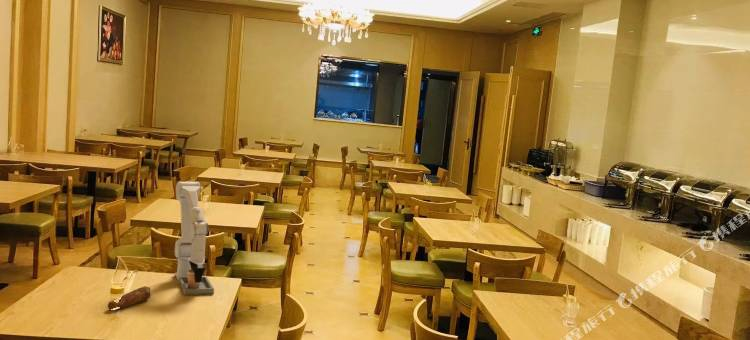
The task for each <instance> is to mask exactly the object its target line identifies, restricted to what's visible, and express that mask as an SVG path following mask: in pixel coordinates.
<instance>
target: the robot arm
mask: <svg viewBox="0 0 750 340" xmlns="http://www.w3.org/2000/svg"><path fill="white" fill-rule="evenodd" d="M200 193H201V184H200V182H199V181H177V183H176V186H175V198H176V200H177V201H179V203H180V204H179V206H180V225H181V227H180V228H181V229H180V232H181V233H180V234H181V237H180V238H178V239H177V240H176V241H175V245H174V256H175V257H176V259H177V272H175V273H174V275H175V277H176V279H177V280H178V281H179V277H188V273H187V271H188V270H193V271H194V276H195V282H196V283H198V282H201V279H202V277H203V274H204V273H205V271H206V269H207V267H206V266H203V265H204V263H205V261H206V259H205V258H206V257H205V255H206V253H205V252H206V242H207V241H206V240H207V235H208V233H209V223H208V222H207V220H206V219H205V217H204V213H203V209H202V208H201V207H199V195H200Z"/></svg>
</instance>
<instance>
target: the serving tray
mask: <svg viewBox="0 0 750 340" xmlns="http://www.w3.org/2000/svg"><path fill="white" fill-rule="evenodd" d="M178 285H179V286H180V289H181V290H182V293H183V295H184V296H204V294H206V295H214V294H215V288H214V286H213V285H212V283H211V281H210V280H209V277H208V276H207V275H205V276H203V275H202V279H201V282H200V287H199V288H196V289H190V288H188V277H179V280H178Z"/></svg>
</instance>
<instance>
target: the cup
mask: <svg viewBox="0 0 750 340" xmlns="http://www.w3.org/2000/svg"><path fill="white" fill-rule="evenodd" d="M187 273H188V288H190V289H196V288H199V287H200V282H198V283H196V282H195V276H194V271H193V270H188V271H187Z"/></svg>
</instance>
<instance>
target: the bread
mask: <svg viewBox="0 0 750 340" xmlns="http://www.w3.org/2000/svg"><path fill="white" fill-rule="evenodd" d="M151 295H152V294H151V287H149V286H142V287H139V288H137V289H133V290H132V291H130V292H127V293H125V294H123V295H121V296H122V297H121V296H120V297H121V299H120V300H119V302H118V303H116V302H114V301H113V300H110V301H109V302H108V304H107V308H108V309H109V310H108V311H111V309H113V308H116V307H120V308H121V309H125V308H128V307H130V306H133V305H136V304H138V303H142V302H145V301H147V300H149V299H151ZM124 307H125V308H124Z"/></svg>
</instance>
